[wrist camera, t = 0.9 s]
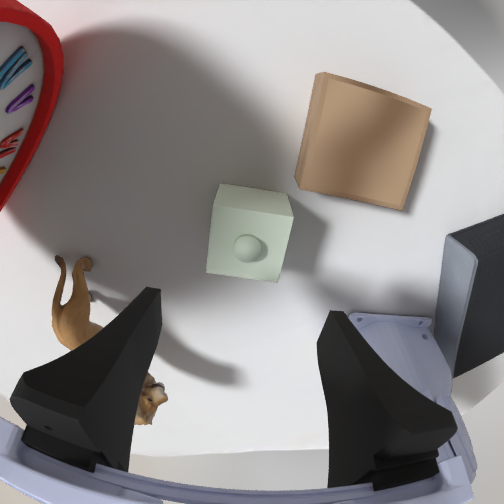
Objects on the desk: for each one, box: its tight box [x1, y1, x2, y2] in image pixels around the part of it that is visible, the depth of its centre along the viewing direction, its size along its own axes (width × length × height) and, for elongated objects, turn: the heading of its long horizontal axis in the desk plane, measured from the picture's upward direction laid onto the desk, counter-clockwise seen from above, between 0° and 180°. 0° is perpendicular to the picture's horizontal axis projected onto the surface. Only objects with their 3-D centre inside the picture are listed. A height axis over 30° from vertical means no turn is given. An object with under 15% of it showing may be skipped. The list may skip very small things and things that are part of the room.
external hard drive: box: [434, 214, 504, 379], centre depth 24 cm, size 13×19×4 cm
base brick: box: [295, 72, 431, 211], centre depth 17 cm, size 7×7×2 cm
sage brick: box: [206, 183, 294, 282], centre depth 19 cm, size 4×4×4 cm
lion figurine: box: [52, 255, 168, 425], centre depth 22 cm, size 15×5×9 cm, turn 36°
